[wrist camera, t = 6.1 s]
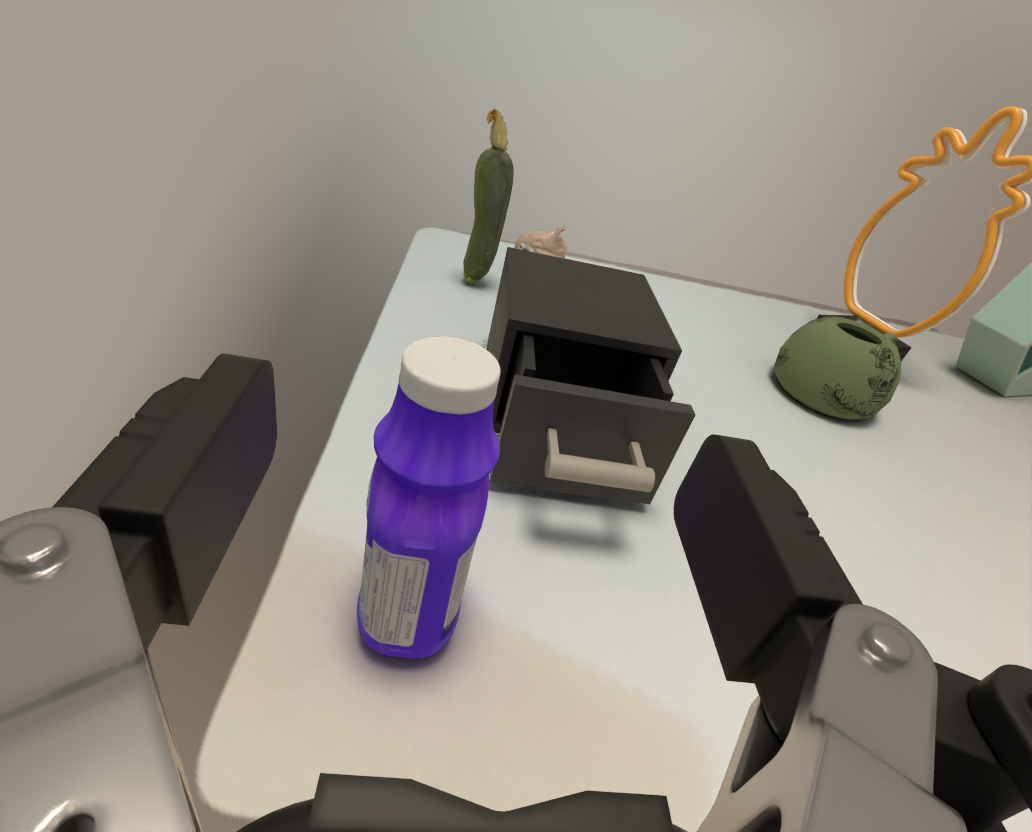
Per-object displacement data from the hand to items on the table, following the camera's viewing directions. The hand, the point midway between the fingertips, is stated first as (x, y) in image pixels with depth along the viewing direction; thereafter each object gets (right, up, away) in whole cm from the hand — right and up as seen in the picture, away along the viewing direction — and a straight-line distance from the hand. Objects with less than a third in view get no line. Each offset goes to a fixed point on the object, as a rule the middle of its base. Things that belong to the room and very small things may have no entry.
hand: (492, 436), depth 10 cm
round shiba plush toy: (+3, +20, +67) cm, 70 cm away
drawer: (+5, -3, +35) cm, 36 cm away
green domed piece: (+38, +3, +57) cm, 69 cm away
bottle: (-6, -11, +22) cm, 26 cm away
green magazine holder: (+72, +5, +72) cm, 102 cm away
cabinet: (+4, +3, +44) cm, 44 cm away
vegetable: (-5, +17, +60) cm, 63 cm away
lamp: (+48, +9, +69) cm, 84 cm away
